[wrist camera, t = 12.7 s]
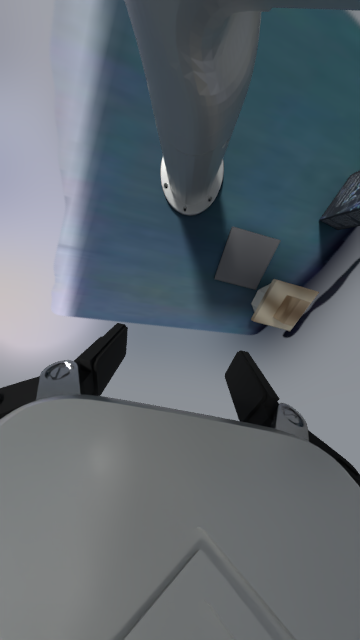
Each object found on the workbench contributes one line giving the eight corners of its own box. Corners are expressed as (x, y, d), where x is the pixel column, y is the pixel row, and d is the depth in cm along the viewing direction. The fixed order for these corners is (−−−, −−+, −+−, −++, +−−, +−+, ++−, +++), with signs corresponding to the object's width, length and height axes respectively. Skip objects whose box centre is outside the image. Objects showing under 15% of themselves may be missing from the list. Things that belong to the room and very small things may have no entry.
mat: (231, 227, 30) (232, 226, 29) (278, 240, 30) (280, 240, 30) (214, 278, 35) (214, 279, 34) (254, 289, 36) (255, 289, 35)
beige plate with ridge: (273, 278, 30) (289, 282, 25) (314, 291, 31) (337, 296, 26) (250, 319, 35) (260, 328, 30) (286, 328, 36) (302, 339, 31)
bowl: (263, 279, 34) (273, 282, 30) (296, 288, 35) (311, 292, 31) (246, 312, 39) (253, 318, 35) (276, 319, 39) (287, 326, 35)
